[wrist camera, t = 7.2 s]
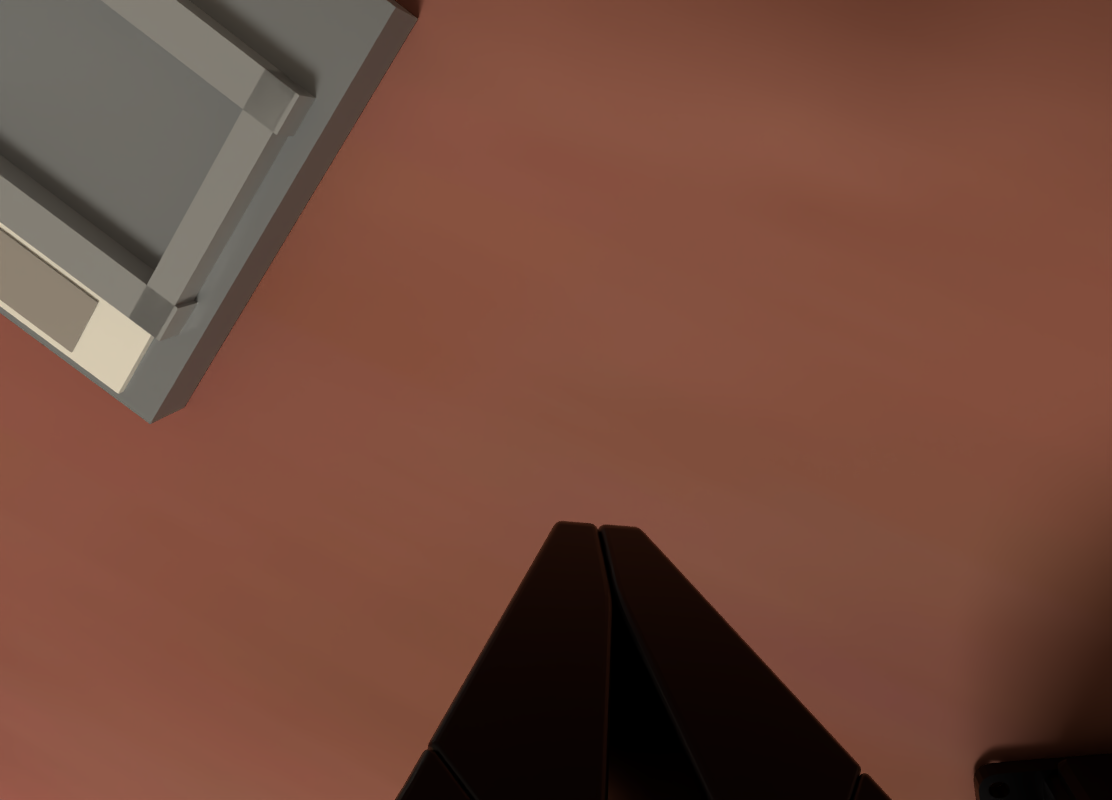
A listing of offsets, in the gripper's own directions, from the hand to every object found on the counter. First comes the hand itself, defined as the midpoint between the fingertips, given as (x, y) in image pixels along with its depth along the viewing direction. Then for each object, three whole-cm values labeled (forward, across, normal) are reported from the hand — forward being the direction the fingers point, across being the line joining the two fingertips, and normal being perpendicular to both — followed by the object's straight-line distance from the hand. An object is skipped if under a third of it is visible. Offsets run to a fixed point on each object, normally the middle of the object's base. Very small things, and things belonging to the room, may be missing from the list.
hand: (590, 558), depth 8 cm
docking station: (+16, +12, -2) cm, 20 cm away
